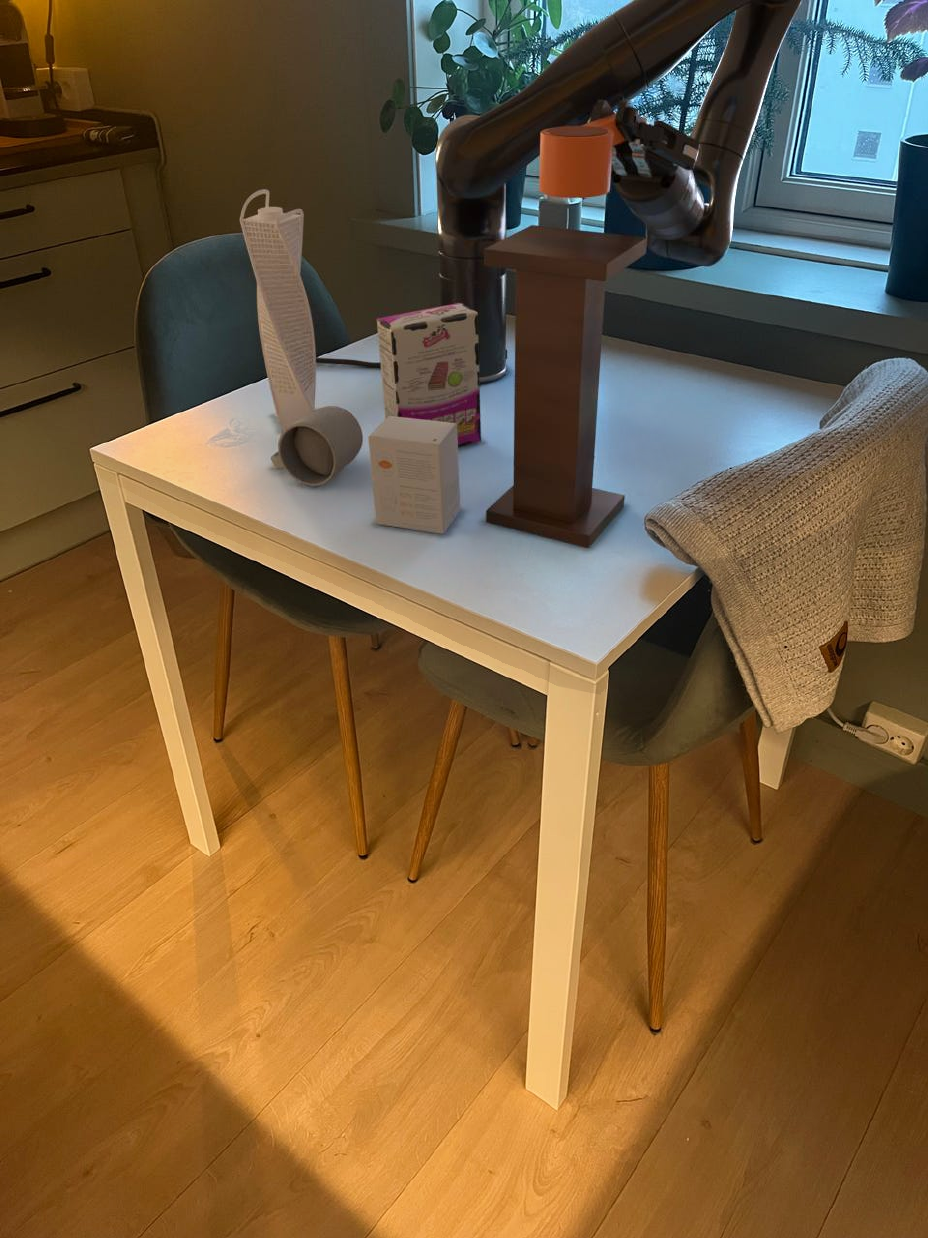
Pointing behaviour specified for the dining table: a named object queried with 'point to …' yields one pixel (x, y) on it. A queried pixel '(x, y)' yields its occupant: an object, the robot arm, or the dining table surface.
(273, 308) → the skyscraper
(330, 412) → the ceramic mug
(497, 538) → the dining table surface
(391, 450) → the small box
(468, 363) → the candy bar box
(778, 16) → the robot arm
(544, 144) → the orange measuring cup
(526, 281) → the tall walnut stand
